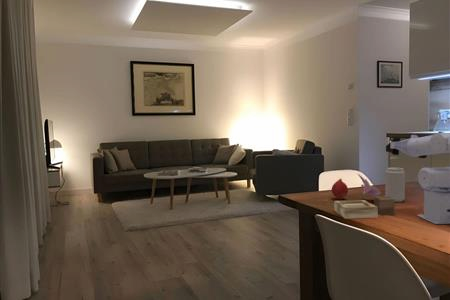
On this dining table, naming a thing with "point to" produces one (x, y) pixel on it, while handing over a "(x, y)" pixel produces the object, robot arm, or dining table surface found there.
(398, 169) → the beverage can
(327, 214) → the dining table surface
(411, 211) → the dining table surface
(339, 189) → the onion
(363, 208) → the beech base
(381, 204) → the walnut block
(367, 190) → the lily
